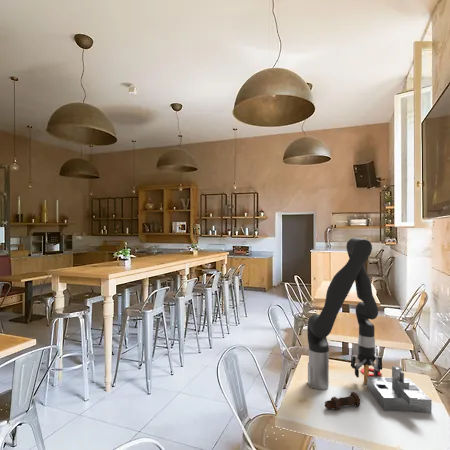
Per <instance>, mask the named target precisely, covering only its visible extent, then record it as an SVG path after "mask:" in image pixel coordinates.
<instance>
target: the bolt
mask: <svg viewBox="0 0 450 450" xmlns="http://www.w3.org/2000/svg"><path fill="white" fill-rule="evenodd" d="M352 405H353V406H354V407H356V408H359V407H360V405H361V397H360V395H358V393H357V392H355V391H351V392H350V394H349V395H348V396H343V397H339V398H338V397H336V396H332V397H331V398H330V400H329V399H328V400H325V401H324V407H325V409H327V410H335V411H338V410H340V409H341V408H342V407H347V406H352Z"/></svg>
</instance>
